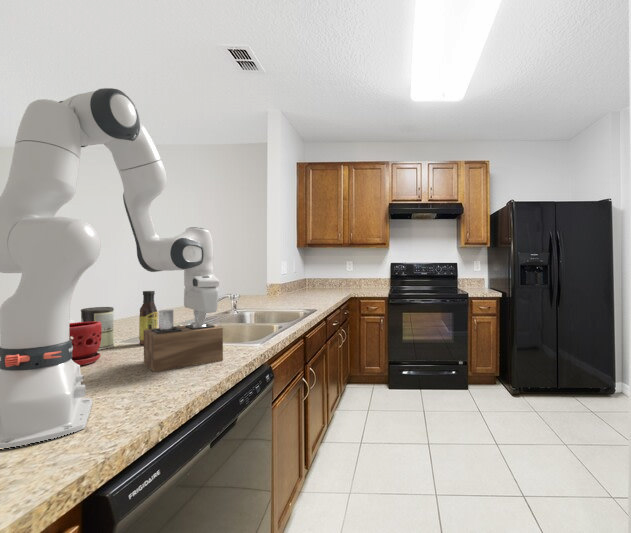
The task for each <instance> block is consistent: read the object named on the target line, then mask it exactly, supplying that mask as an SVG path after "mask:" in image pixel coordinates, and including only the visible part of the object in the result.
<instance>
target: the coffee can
mask: <svg viewBox="0 0 631 533" xmlns="http://www.w3.org/2000/svg"><path fill="white" fill-rule="evenodd" d="M80 312H81V313H80V316H81V318H80V319H81V320H80V322H92V321H95V322H101V326H102V335H101V343H100V347H99V349H98V351H101V350H100V349H103V350H107V349H106V348H108V349H111V348H114V347H115V344H114V343H115V342H114V336H115V335H114V307H113V306H98V307H97V306H95V307H86V308H81V309H80ZM110 347H111V348H110Z"/></svg>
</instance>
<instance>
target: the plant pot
mask: <svg viewBox="0 0 631 533" xmlns="http://www.w3.org/2000/svg"><path fill="white" fill-rule="evenodd" d="M101 335H102V326H101V322H95V321H92V322H81V321H79V322H71V323H70V322H69V339H71V340H72V345H73V350H72V358H71V359H72V360H73V361H74V362H75V363H77V364H78V365H80V366H85V365H89V364H93V363H95V362H96V361H98V360H99V359H100V357H101V354H102V353H101V352H98V351H99V350H98V349H99V347H100V343H101Z"/></svg>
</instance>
